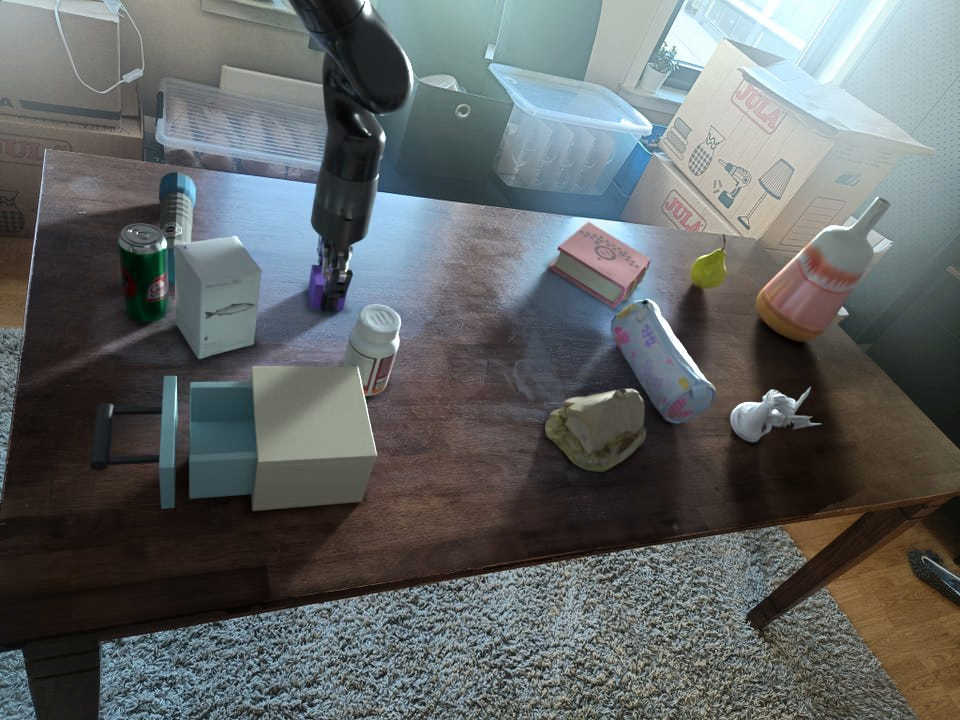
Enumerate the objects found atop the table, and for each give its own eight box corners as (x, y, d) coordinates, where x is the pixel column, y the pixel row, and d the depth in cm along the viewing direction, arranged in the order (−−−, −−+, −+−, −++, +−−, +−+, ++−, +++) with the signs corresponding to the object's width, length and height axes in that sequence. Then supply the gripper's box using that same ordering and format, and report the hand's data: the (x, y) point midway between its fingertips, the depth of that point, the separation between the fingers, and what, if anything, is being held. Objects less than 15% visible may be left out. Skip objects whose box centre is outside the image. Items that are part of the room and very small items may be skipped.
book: (617, 311, 114) (630, 290, 111) (548, 267, 117) (558, 246, 114) (642, 281, 125) (654, 261, 121) (578, 242, 128) (588, 221, 124)
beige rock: (578, 482, 82) (612, 436, 76) (532, 418, 88) (560, 370, 82) (649, 454, 90) (685, 410, 84) (602, 397, 96) (633, 352, 89)
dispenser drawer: (91, 514, 59) (83, 472, 55) (103, 420, 67) (97, 375, 62) (272, 500, 66) (278, 461, 62) (265, 415, 73) (270, 375, 69)
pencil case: (599, 333, 108) (625, 291, 101) (641, 335, 111) (668, 294, 105) (653, 430, 94) (686, 388, 88) (698, 429, 98) (733, 388, 92)
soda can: (155, 330, 78) (152, 252, 71) (115, 316, 78) (107, 237, 70) (176, 306, 82) (175, 230, 74) (138, 293, 82) (133, 216, 74)
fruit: (719, 291, 132) (752, 244, 124) (705, 300, 127) (739, 252, 119) (692, 271, 134) (724, 225, 126) (678, 280, 130) (710, 232, 122)
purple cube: (311, 309, 90) (315, 284, 87) (308, 288, 93) (312, 264, 90) (343, 310, 92) (348, 286, 89) (338, 290, 95) (343, 266, 92)
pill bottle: (383, 364, 86) (401, 302, 79) (389, 398, 82) (409, 337, 75) (338, 362, 84) (352, 298, 77) (342, 397, 80) (357, 334, 73)
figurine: (718, 413, 102) (762, 362, 94) (752, 412, 105) (798, 363, 97) (754, 468, 95) (806, 419, 87) (790, 465, 98) (843, 417, 91)
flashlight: (195, 201, 99) (196, 173, 95) (194, 292, 85) (194, 263, 82) (160, 197, 97) (159, 169, 93) (152, 290, 83) (151, 260, 80)
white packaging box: (198, 361, 77) (199, 282, 69) (174, 322, 80) (172, 242, 72) (255, 346, 82) (263, 270, 73) (231, 310, 85) (235, 233, 77)
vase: (750, 329, 125) (854, 201, 105) (747, 291, 136) (841, 169, 116) (817, 359, 124) (933, 236, 105) (809, 319, 135) (913, 201, 116)
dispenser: (252, 511, 66) (258, 462, 60) (246, 417, 74) (251, 365, 68) (361, 501, 70) (377, 455, 65) (345, 414, 78) (358, 366, 73)
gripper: (308, 164, 84) (294, 265, 95) (321, 228, 75) (304, 331, 86) (364, 172, 87) (344, 269, 98) (383, 233, 78) (358, 333, 89)
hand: (325, 297), depth 92 cm, fingers closed on purple cube, 4 cm apart
